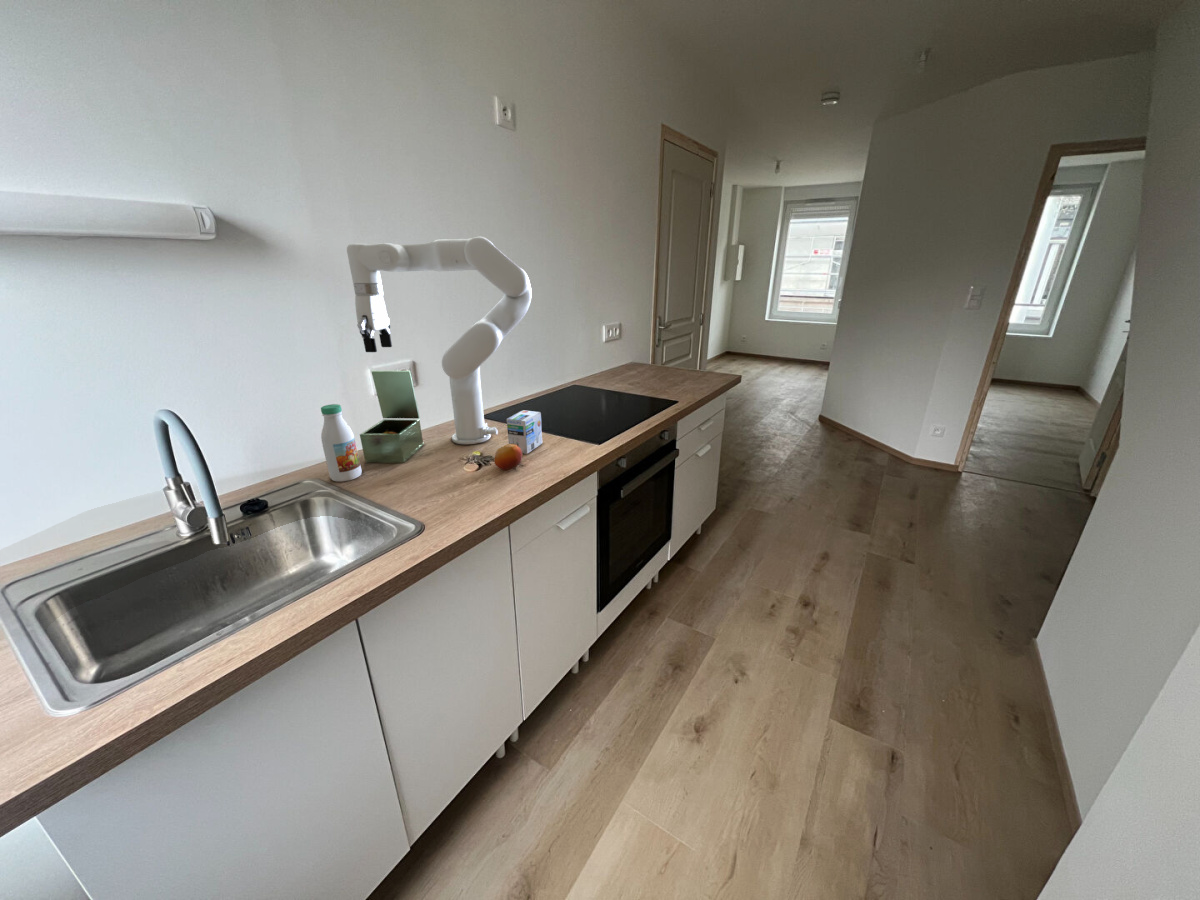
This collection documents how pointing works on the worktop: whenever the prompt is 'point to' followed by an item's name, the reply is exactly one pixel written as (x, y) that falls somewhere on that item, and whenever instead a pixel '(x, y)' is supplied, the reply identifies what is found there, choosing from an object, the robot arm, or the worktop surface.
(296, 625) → the worktop surface
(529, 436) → the light bulb box
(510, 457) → the fruit
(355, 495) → the worktop surface
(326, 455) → the milk bottle
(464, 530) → the worktop surface
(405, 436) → the bread bin
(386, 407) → the lid
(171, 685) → the worktop surface
